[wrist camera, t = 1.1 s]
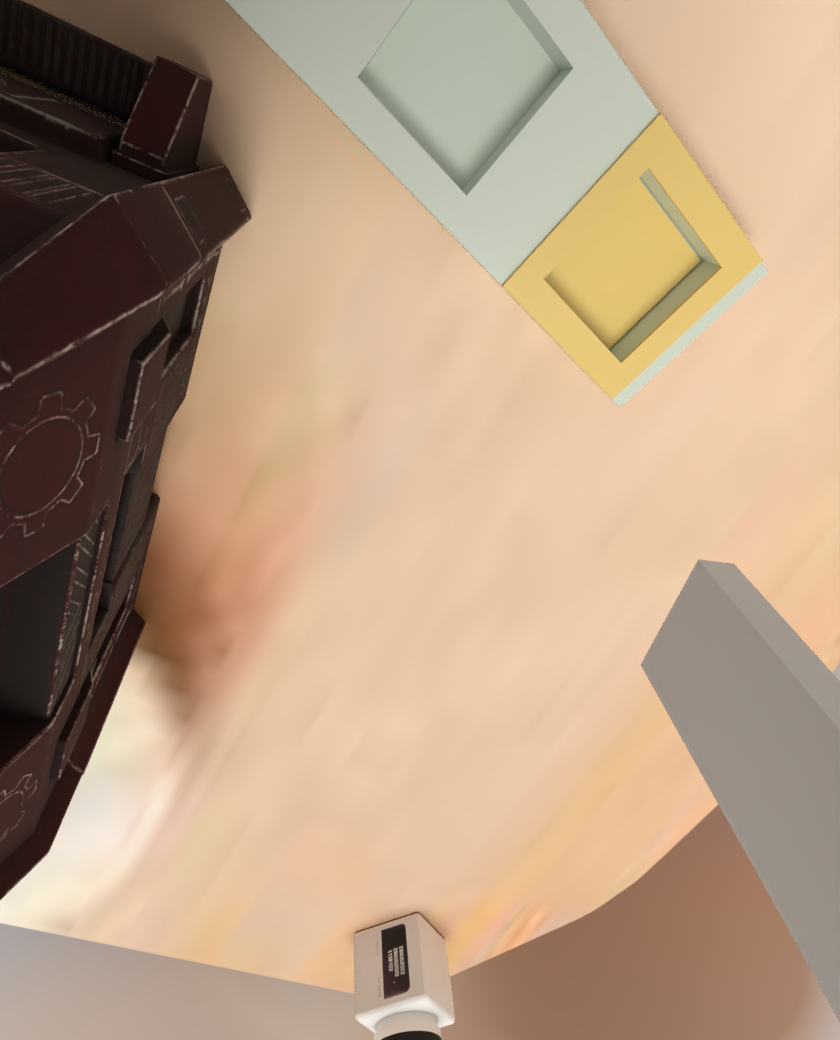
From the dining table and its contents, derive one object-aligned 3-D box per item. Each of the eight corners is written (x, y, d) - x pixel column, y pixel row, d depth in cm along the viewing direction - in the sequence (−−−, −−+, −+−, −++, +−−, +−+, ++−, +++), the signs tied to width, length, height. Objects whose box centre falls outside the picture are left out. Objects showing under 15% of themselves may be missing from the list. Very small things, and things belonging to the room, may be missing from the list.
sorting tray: (33, -197, 21) (-13, -246, 18) (175, -521, 18) (145, -636, 15) (599, 387, 35) (621, 409, 32) (734, 260, 31) (770, 272, 29)
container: (352, 932, 65) (354, 1092, 54) (418, 910, 64) (433, 1069, 53) (383, 959, 69) (390, 1113, 58) (446, 939, 68) (464, 1092, 57)
